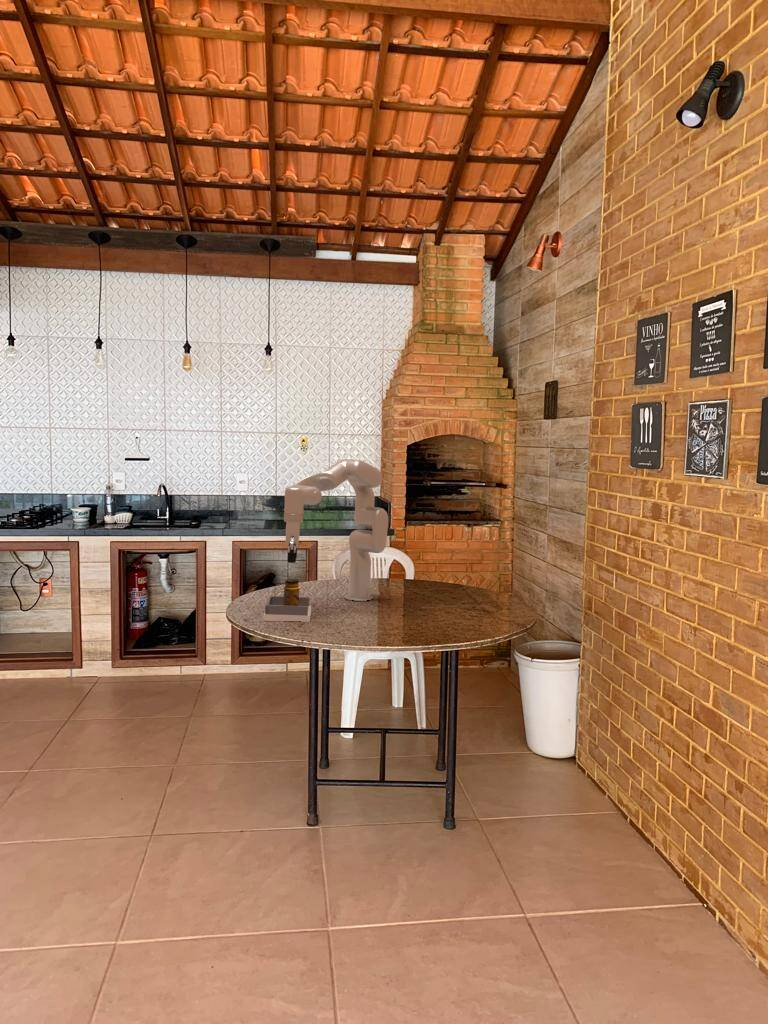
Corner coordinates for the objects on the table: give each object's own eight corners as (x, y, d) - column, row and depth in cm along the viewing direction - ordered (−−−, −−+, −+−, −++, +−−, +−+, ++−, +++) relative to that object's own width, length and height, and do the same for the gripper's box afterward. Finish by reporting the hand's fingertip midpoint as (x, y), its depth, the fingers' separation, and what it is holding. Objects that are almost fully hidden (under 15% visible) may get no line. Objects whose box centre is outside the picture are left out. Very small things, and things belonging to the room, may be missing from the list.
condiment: (302, 610, 278) (303, 581, 277) (283, 612, 273) (284, 582, 272) (294, 606, 284) (295, 577, 283) (275, 608, 279) (276, 579, 278)
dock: (311, 611, 289) (311, 597, 288) (309, 622, 271) (310, 607, 270) (267, 609, 287) (267, 595, 287) (263, 620, 270) (263, 605, 269)
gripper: (285, 515, 285) (284, 556, 287) (282, 520, 268) (281, 563, 270) (303, 515, 286) (302, 557, 287) (302, 520, 268) (300, 564, 270)
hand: (292, 560), depth 278 cm, fingers open, 9 cm apart
